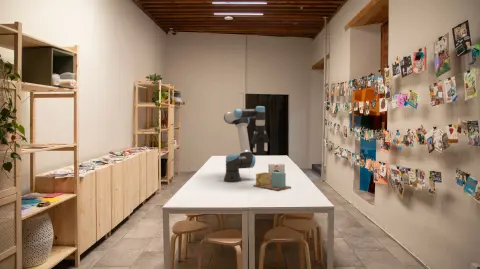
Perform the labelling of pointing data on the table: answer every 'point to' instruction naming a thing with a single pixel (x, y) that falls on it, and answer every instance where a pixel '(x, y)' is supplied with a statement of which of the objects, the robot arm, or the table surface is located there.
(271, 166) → the candy box
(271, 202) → the table surface
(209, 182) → the table surface
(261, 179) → the board
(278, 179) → the stub
